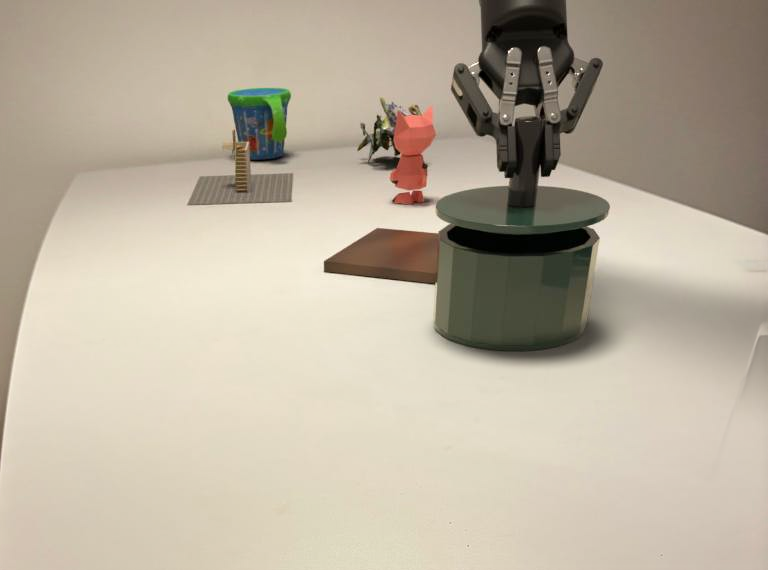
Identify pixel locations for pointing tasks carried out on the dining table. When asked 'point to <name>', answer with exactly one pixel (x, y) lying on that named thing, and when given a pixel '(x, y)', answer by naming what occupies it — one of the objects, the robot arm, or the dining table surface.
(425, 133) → the cat figurine
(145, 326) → the dining table surface
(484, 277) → the pot
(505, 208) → the lid
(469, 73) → the robot arm
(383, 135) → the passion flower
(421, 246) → the board
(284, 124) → the snack cup
